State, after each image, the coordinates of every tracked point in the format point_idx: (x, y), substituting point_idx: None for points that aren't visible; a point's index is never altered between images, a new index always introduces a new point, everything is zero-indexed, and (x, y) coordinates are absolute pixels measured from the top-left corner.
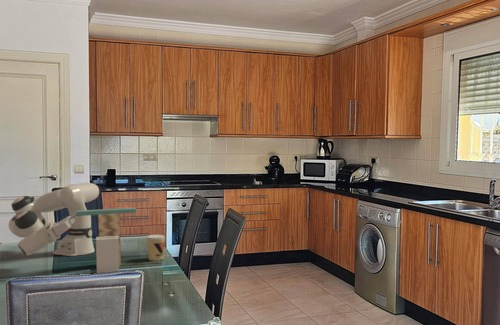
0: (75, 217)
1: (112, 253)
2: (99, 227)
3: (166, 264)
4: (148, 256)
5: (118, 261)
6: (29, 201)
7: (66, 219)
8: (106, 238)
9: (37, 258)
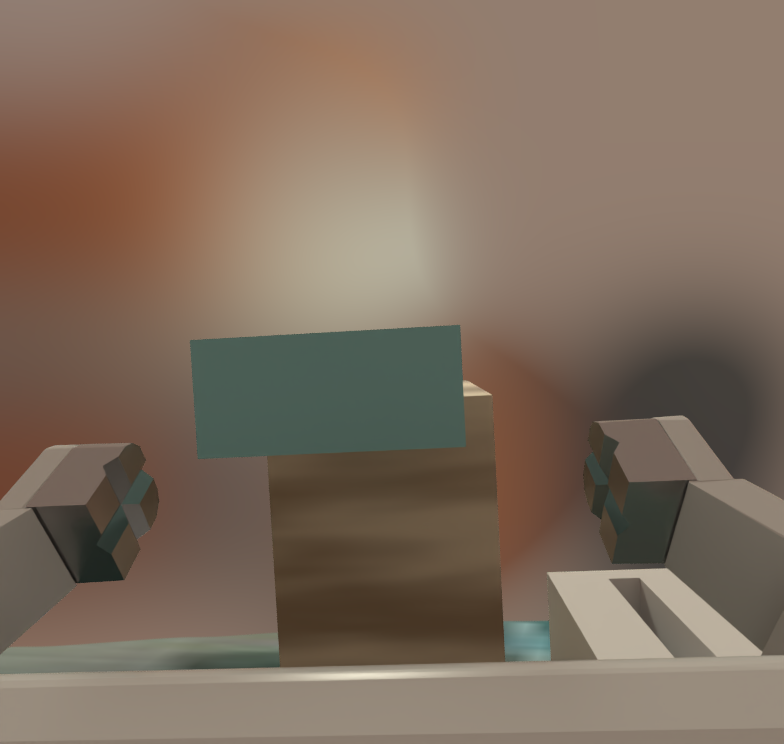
0: (703, 450)
1: None
2: (499, 561)
3: (505, 641)
4: None
5: None
6: None
7: (564, 714)
8: (702, 620)
9: None
